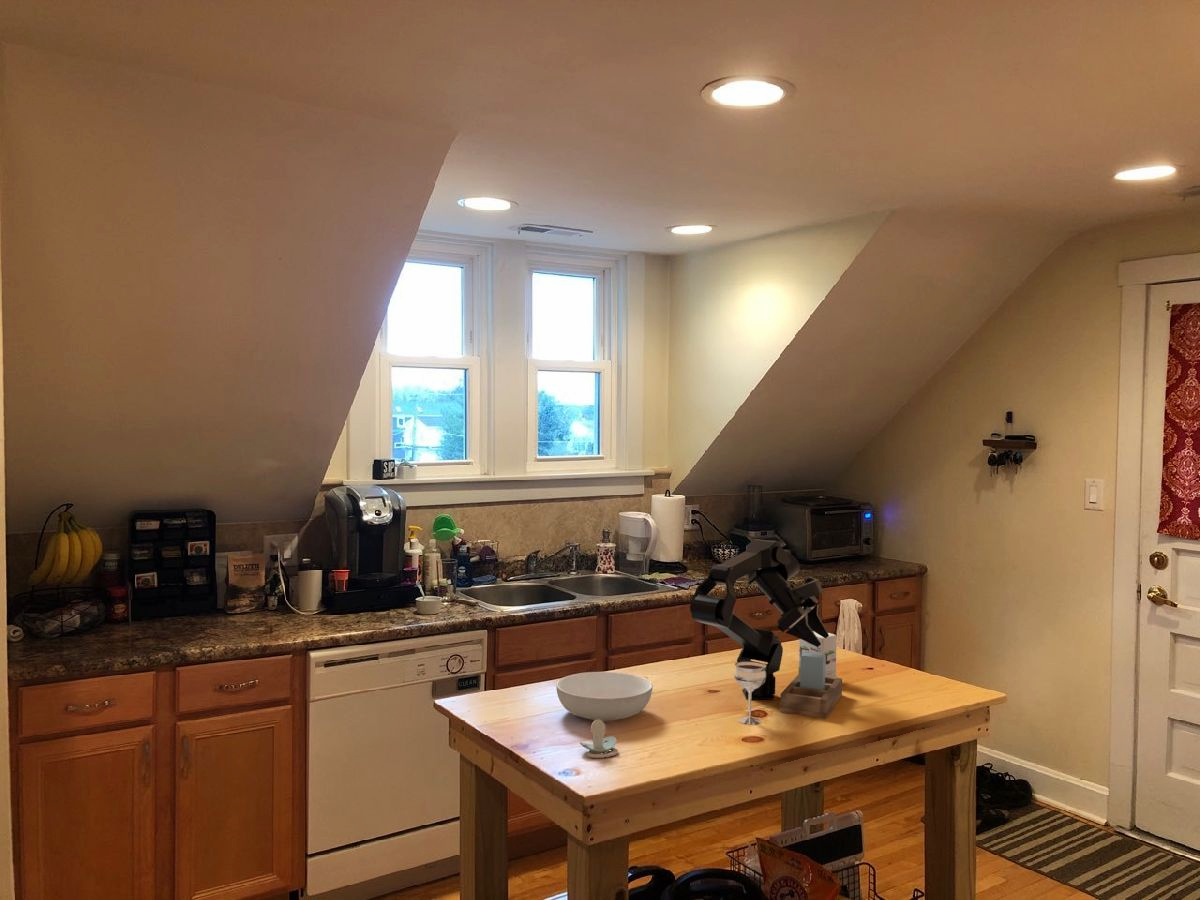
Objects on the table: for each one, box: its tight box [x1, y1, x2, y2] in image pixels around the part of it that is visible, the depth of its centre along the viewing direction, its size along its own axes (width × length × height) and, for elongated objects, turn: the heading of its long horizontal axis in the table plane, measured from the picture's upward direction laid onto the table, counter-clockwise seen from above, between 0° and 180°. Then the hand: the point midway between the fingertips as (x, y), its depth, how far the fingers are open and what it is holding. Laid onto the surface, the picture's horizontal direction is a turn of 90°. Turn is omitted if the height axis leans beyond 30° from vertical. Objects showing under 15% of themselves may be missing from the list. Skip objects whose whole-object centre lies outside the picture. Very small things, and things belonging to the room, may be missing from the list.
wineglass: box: [733, 660, 766, 726], centre depth 198 cm, size 7×7×12 cm
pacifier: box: [579, 720, 619, 759], centre depth 177 cm, size 7×6×6 cm
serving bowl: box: [555, 671, 654, 722], centre depth 200 cm, size 21×21×7 cm
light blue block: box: [800, 653, 826, 690], centre depth 210 cm, size 5×3×10 cm, turn 65°
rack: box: [779, 673, 843, 719], centre depth 210 cm, size 10×19×4 cm, turn 155°
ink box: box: [797, 631, 838, 678], centre depth 230 cm, size 8×5×12 cm, turn 32°
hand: (823, 641), depth 213 cm, fingers open, 9 cm apart
